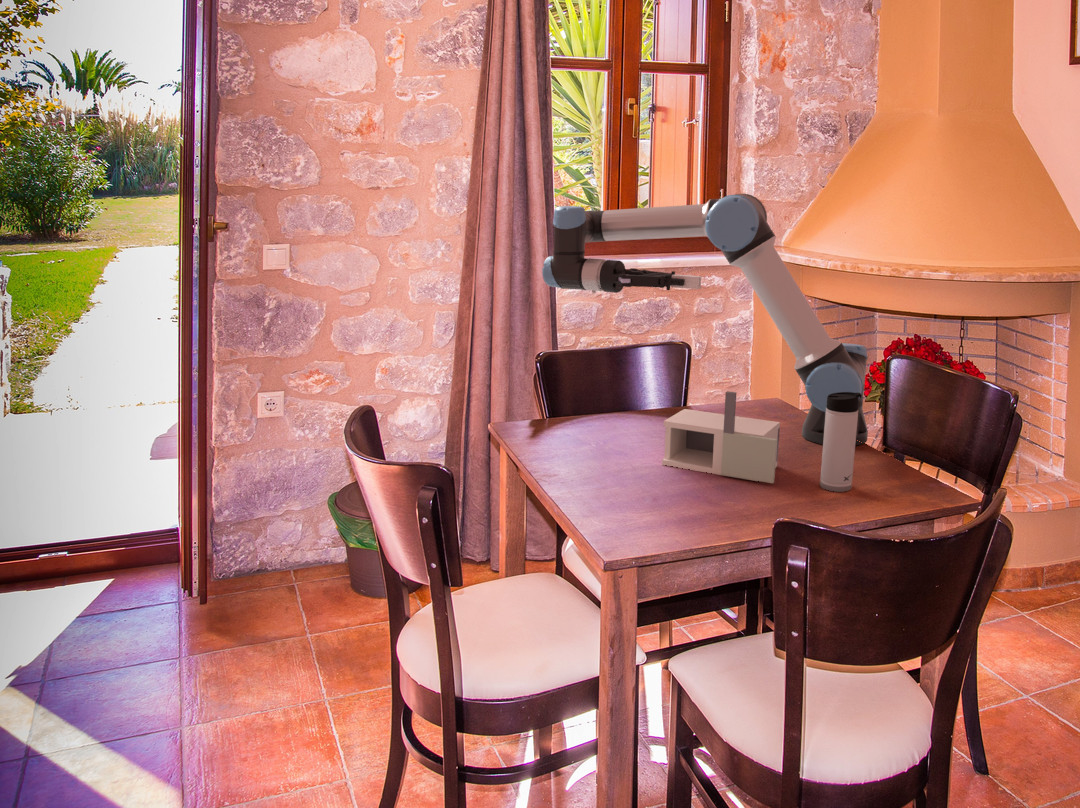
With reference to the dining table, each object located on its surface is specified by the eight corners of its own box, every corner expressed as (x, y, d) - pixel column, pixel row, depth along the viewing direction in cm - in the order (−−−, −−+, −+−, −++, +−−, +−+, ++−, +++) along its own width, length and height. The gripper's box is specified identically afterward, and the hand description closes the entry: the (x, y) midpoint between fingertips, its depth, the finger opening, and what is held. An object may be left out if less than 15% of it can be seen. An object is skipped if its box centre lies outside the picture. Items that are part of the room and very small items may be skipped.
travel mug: (854, 493, 201) (863, 397, 196) (820, 491, 203) (828, 395, 197) (851, 483, 207) (859, 390, 202) (818, 481, 208) (826, 388, 203)
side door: (721, 474, 211) (725, 392, 206) (722, 473, 211) (727, 391, 207) (772, 483, 205) (778, 398, 201) (774, 482, 206) (779, 397, 202)
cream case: (662, 465, 218) (663, 421, 216) (682, 451, 229) (684, 408, 226) (760, 481, 208) (762, 435, 205) (777, 466, 218) (780, 422, 216)
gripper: (616, 288, 241) (709, 295, 230) (592, 295, 230) (688, 303, 219) (617, 257, 239) (710, 263, 228) (592, 262, 228) (689, 269, 217)
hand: (699, 282), depth 223 cm, fingers closed
